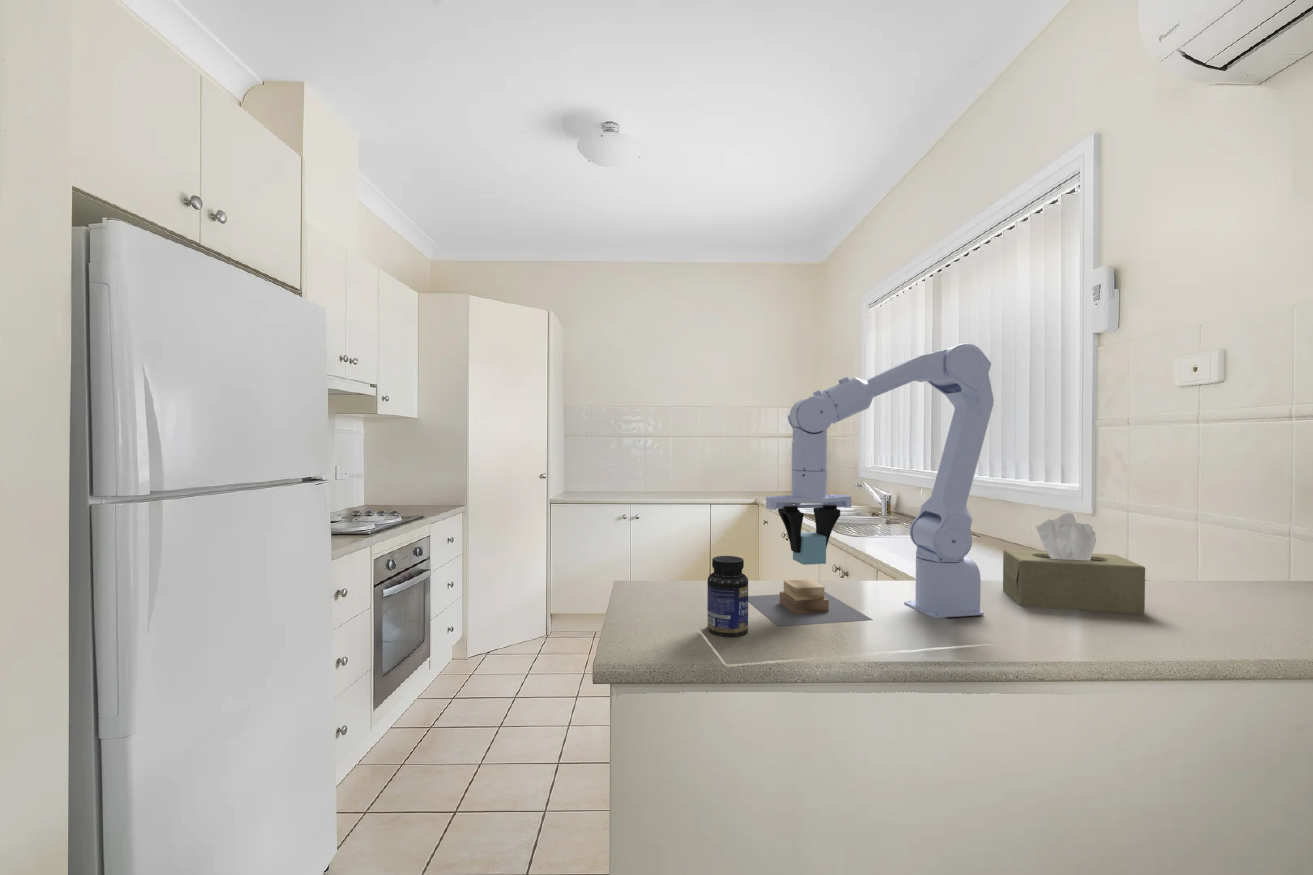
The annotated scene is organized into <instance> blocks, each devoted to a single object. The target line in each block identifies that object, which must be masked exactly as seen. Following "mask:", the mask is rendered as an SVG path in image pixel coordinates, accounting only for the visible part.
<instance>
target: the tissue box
mask: <svg viewBox="0 0 1313 875" xmlns="http://www.w3.org/2000/svg"><path fill="white" fill-rule="evenodd" d="M1093 528H1094V527H1093V525H1091V524H1089V523H1081V522H1077V521H1076V518H1075V516H1074V513H1070V512H1066V513H1063V514H1061V515H1060V516H1059V517H1057V518H1054V519H1050V518H1049V519H1047V520H1044V522H1042V523H1041V524H1038V525H1035V529H1036V530H1037V533H1038V534H1039V538H1040V540H1041V542H1042V544H1043V547H1044V549H1045V550H1030V549H1028V550H1027V549H1026V550H1025V549H1009V548H1004V549H1003V551H1002V552H1003V554H1002V555H1003V557H1002V559H1003V561H1002V591H1003V592H1004V593H1005V594H1006V595H1007V596H1009V597H1010V598H1011V599H1012V600H1013V601H1014V602H1016V604H1017V605H1019V606H1021V607H1034V608H1035V607H1037V608H1048V609H1062V610H1075V611H1090V612H1101V613H1103V612H1104V613H1115V614H1116V613H1118V614H1131V615H1132V614H1133V615H1142V614H1144V615H1145V612H1146V611H1145V610H1146V567H1145V566H1144V565H1141V564H1139V563H1136V562H1134V561H1132V560H1129V559H1127V558H1125V557H1122V556H1120V555H1117V554H1113V553H1112V554H1109V553H1093V552H1094V550H1095V545H1096V543H1097V538H1096V532H1095V531H1094V529H1093Z"/></svg>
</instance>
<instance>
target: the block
mask: <svg viewBox="0 0 1313 875" xmlns="http://www.w3.org/2000/svg"><path fill="white" fill-rule="evenodd" d="M792 560H793V561H795V562H797V563H800V564H801V565H803V566H804V565H805V566H807V565H825V564H827V548H826V536H824V535H821V534H818V533H816V531H814V532H813V531H812V532H811V531H810V532H807V531H806V532H801V550H800V553H795V552H793V551H792Z"/></svg>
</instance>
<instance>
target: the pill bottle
mask: <svg viewBox="0 0 1313 875" xmlns="http://www.w3.org/2000/svg"><path fill="white" fill-rule="evenodd" d="M711 560H712V562H711V564H712V569H713V572H711V573H710V574H709V575H708V577H707V613H706V614H707V615H706V616H707V626H706V628H707V630H708V632H709V633H710V634H712V635H715V636H717V637H725V638H737V637H742V636H744V635H747V633H748V632H749V602H748V596H749V578H748V577H747V575H746V574H745V573H743V569H744V566H745V562H744V561H745V560H744V558H742V557H740V556H735V555H720V556H719V555H718V556H715V557H713V558H712V559H711Z"/></svg>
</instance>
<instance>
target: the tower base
mask: <svg viewBox="0 0 1313 875" xmlns="http://www.w3.org/2000/svg"><path fill="white" fill-rule="evenodd" d="M779 594H780V604H782V605H783V606H784V607H786V608H787V609H788V610H790V611H791V612H792V613H794V614H802V613H818V612H829V600H828V599H827V598H825V597H824V599H817V600H800V601H796V600H794V599H793V598H791V597H790V596H788V595H787V594H786V593H784V590H783V591H779Z"/></svg>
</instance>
